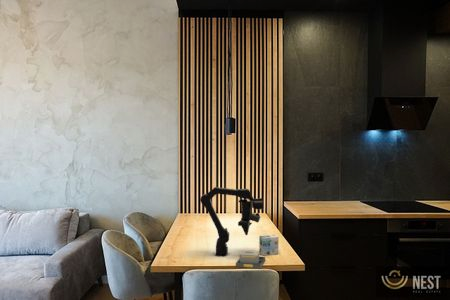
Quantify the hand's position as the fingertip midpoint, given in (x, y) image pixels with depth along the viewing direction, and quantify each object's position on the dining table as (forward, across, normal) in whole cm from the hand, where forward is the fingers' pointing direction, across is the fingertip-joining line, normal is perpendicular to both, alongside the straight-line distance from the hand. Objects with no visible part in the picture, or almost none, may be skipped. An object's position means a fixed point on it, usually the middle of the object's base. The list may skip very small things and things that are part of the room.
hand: (246, 234), depth 224 cm
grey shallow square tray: (+12, -17, -6) cm, 21 cm away
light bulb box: (+12, +6, -13) cm, 19 cm away
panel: (+12, -20, -6) cm, 24 cm away
